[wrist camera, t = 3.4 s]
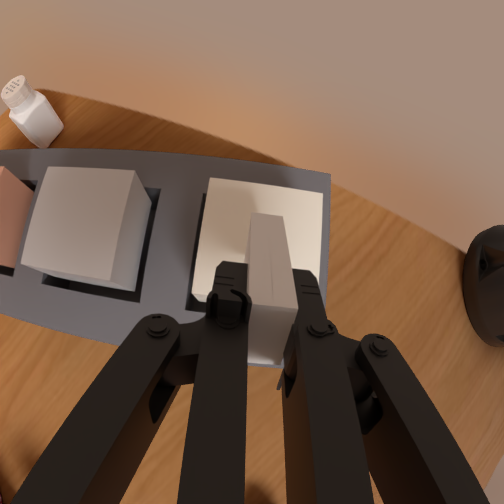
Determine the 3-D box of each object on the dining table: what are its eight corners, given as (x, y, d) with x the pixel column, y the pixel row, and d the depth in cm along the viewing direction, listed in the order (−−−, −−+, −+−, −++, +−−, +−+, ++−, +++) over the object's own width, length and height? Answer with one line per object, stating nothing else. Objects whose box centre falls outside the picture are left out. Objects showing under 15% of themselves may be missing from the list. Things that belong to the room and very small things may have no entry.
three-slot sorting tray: (306, 209, 30) (330, 174, 23) (294, 359, 26) (319, 370, 19) (21, 181, 28) (-14, 150, 21) (-8, 302, 25) (-53, 292, 17)
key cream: (302, 221, 23) (322, 193, 18) (295, 312, 21) (317, 307, 16) (212, 209, 22) (209, 177, 17) (199, 301, 21) (191, 293, 16)
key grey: (151, 202, 22) (134, 170, 17) (134, 291, 20) (110, 280, 15) (76, 195, 22) (48, 166, 17) (57, 277, 20) (20, 263, 15)
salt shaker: (50, 117, 30) (18, 69, 21) (67, 127, 30) (34, 76, 21) (29, 141, 29) (-8, 96, 20) (45, 153, 29) (6, 106, 20)
